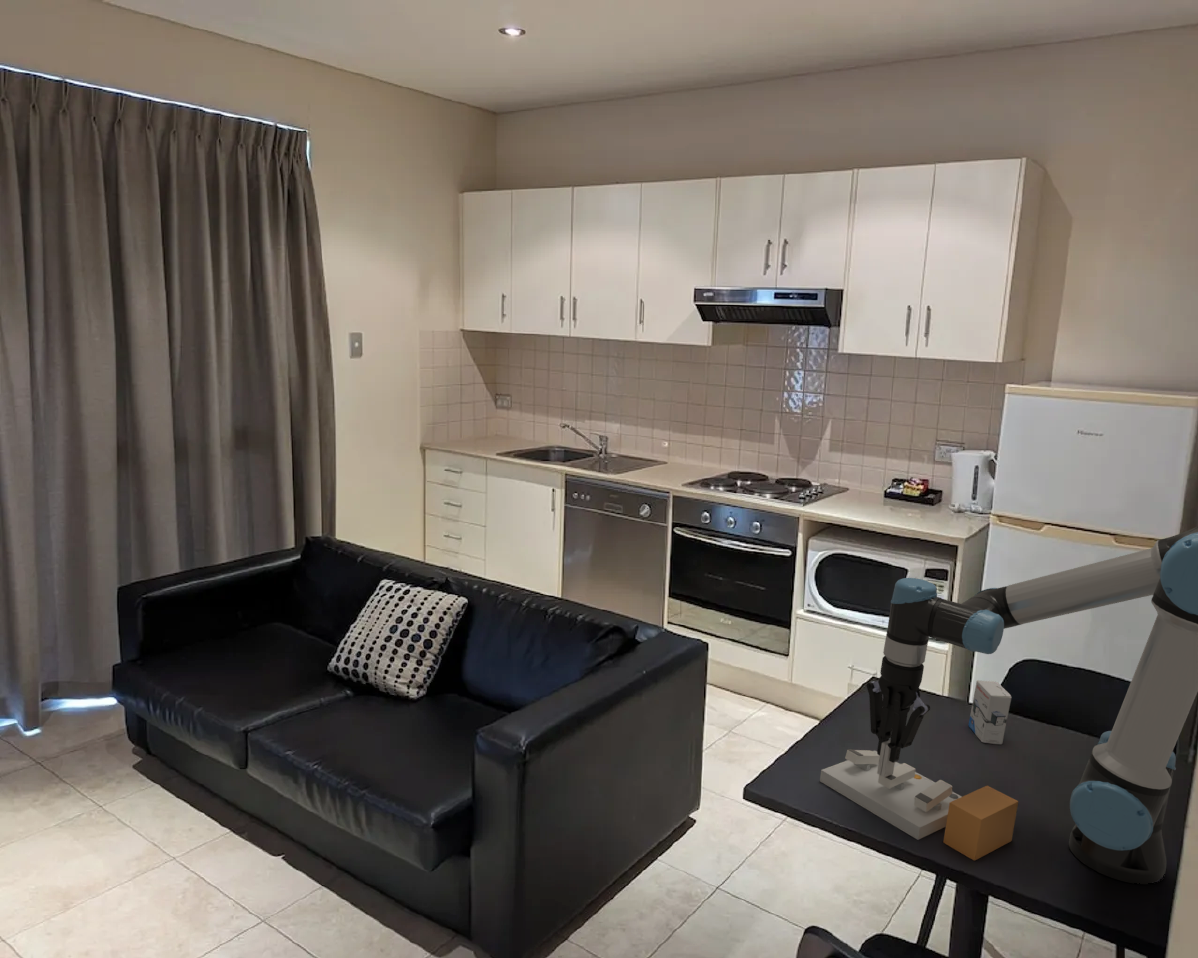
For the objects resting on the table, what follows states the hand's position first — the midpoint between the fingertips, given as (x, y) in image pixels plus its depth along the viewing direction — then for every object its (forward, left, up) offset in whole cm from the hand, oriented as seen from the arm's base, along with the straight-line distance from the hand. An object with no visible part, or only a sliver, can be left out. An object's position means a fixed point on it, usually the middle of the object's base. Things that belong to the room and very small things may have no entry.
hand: (884, 773), depth 173 cm
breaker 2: (0, -4, -1) cm, 4 cm away
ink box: (+6, -47, -6) cm, 47 cm away
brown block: (-18, -5, -6) cm, 19 cm away
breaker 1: (+8, -4, -1) cm, 9 cm away
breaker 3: (-8, -4, -1) cm, 9 cm away
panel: (0, -4, -6) cm, 7 cm away
